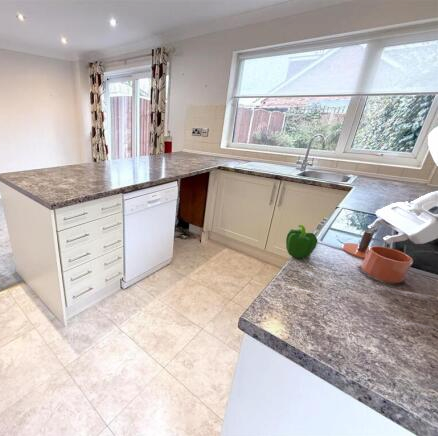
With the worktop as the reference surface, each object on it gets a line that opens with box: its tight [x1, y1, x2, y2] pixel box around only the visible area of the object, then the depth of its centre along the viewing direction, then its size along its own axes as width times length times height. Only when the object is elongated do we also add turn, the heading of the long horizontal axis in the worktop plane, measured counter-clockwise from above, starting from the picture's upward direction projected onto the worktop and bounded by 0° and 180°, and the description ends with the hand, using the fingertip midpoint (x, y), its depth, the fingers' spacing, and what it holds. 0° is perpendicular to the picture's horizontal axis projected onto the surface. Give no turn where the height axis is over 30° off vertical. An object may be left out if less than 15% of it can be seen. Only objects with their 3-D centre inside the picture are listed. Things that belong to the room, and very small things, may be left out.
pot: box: [360, 245, 414, 284], centre depth 71 cm, size 9×9×7 cm
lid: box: [342, 229, 375, 260], centre depth 82 cm, size 10×10×8 cm
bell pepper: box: [285, 224, 318, 259], centre depth 79 cm, size 8×8×10 cm
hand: (376, 234), depth 80 cm, fingers open, 8 cm apart
